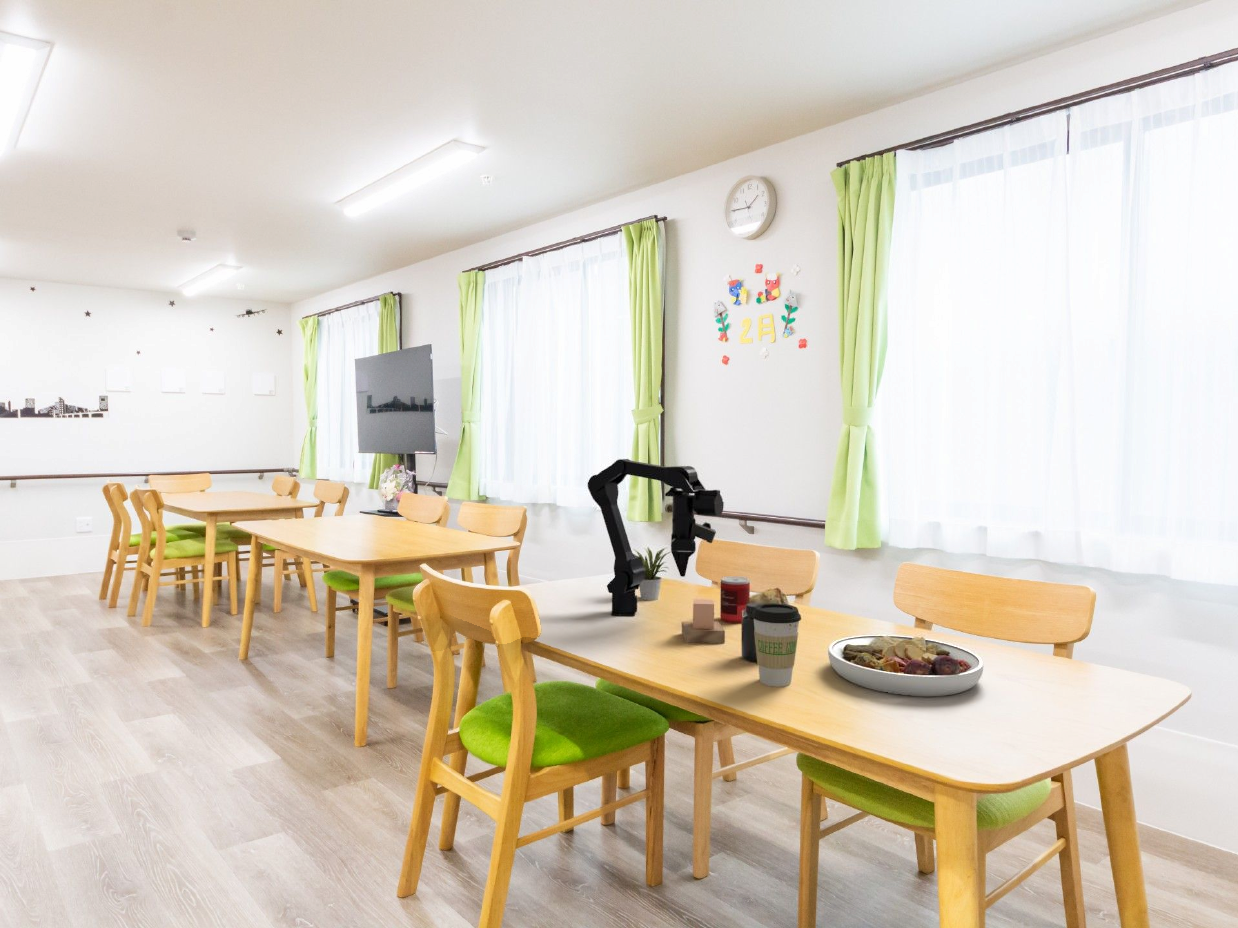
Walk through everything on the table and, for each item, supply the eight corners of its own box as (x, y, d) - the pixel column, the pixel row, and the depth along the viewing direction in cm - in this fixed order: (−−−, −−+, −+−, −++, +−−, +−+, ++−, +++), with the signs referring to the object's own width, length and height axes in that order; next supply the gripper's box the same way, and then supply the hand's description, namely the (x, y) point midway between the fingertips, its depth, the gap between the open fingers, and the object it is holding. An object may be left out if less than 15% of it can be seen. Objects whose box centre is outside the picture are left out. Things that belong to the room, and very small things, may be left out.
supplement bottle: (775, 656, 176) (776, 603, 176) (768, 664, 170) (768, 609, 169) (745, 652, 179) (746, 600, 178) (737, 660, 173) (737, 606, 172)
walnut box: (687, 645, 186) (687, 631, 186) (681, 635, 195) (681, 621, 195) (724, 645, 187) (724, 630, 187) (717, 635, 196) (717, 621, 196)
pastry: (801, 620, 209) (802, 591, 209) (759, 624, 206) (759, 593, 205) (776, 609, 223) (776, 581, 222) (736, 612, 219) (736, 583, 219)
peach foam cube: (692, 628, 189) (693, 603, 188) (693, 623, 194) (693, 598, 193) (713, 628, 188) (714, 604, 188) (713, 623, 193) (713, 599, 193)
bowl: (799, 664, 171) (800, 628, 171) (909, 650, 182) (909, 617, 182) (894, 710, 143) (895, 668, 143) (1017, 691, 154) (1018, 651, 154)
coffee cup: (771, 692, 152) (772, 615, 151) (740, 678, 160) (741, 605, 160) (810, 685, 156) (811, 610, 156) (779, 671, 165) (780, 600, 164)
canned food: (748, 616, 213) (748, 576, 213) (750, 624, 205) (750, 582, 205) (719, 616, 214) (720, 575, 213) (720, 623, 206) (721, 581, 205)
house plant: (681, 594, 241) (681, 541, 240) (674, 604, 227) (674, 548, 227) (635, 592, 244) (635, 540, 243) (625, 601, 231) (626, 546, 230)
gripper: (716, 518, 196) (715, 580, 197) (712, 510, 215) (711, 567, 215) (671, 517, 197) (670, 579, 198) (671, 510, 215) (671, 566, 216)
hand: (682, 573), depth 207 cm, fingers open, 9 cm apart
